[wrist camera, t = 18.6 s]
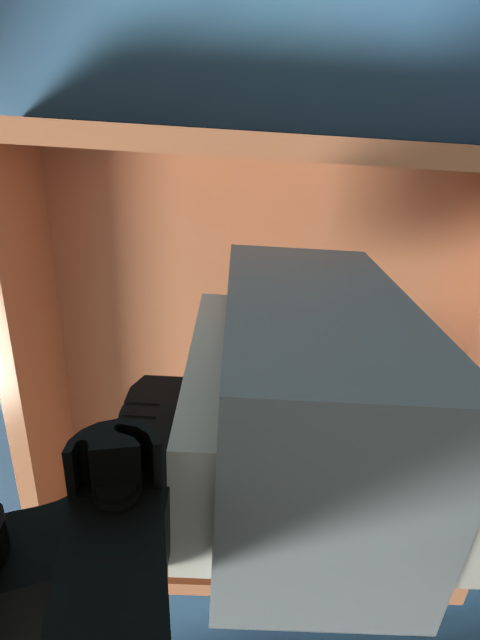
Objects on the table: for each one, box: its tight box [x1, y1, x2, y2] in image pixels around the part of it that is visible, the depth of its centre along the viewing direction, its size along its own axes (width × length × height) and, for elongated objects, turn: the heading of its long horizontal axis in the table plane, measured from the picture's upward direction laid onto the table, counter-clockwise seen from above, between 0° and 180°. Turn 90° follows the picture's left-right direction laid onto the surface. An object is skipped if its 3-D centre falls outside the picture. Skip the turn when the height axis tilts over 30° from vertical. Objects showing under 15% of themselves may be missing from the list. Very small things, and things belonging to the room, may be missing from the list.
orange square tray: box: [0, 115, 480, 605], centre depth 20 cm, size 22×22×5 cm
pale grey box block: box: [209, 244, 480, 637], centre depth 10 cm, size 5×4×8 cm
